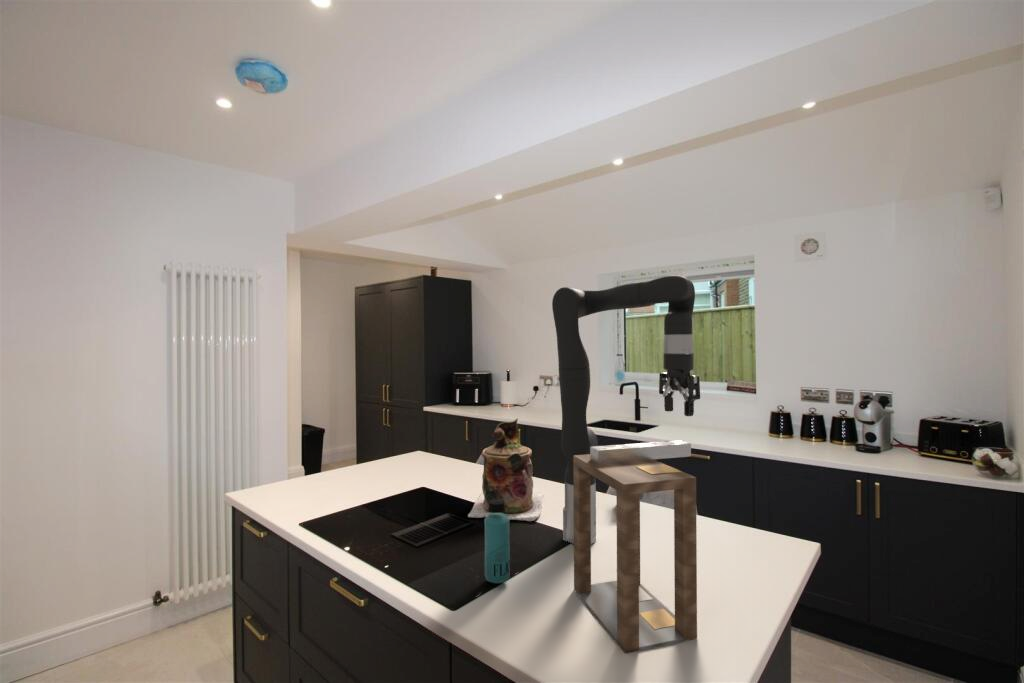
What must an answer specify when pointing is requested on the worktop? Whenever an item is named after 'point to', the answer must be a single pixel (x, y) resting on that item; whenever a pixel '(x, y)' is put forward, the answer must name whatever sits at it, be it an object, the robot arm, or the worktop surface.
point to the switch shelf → (637, 554)
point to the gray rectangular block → (639, 451)
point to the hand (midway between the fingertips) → (678, 413)
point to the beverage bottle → (497, 543)
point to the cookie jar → (508, 477)
